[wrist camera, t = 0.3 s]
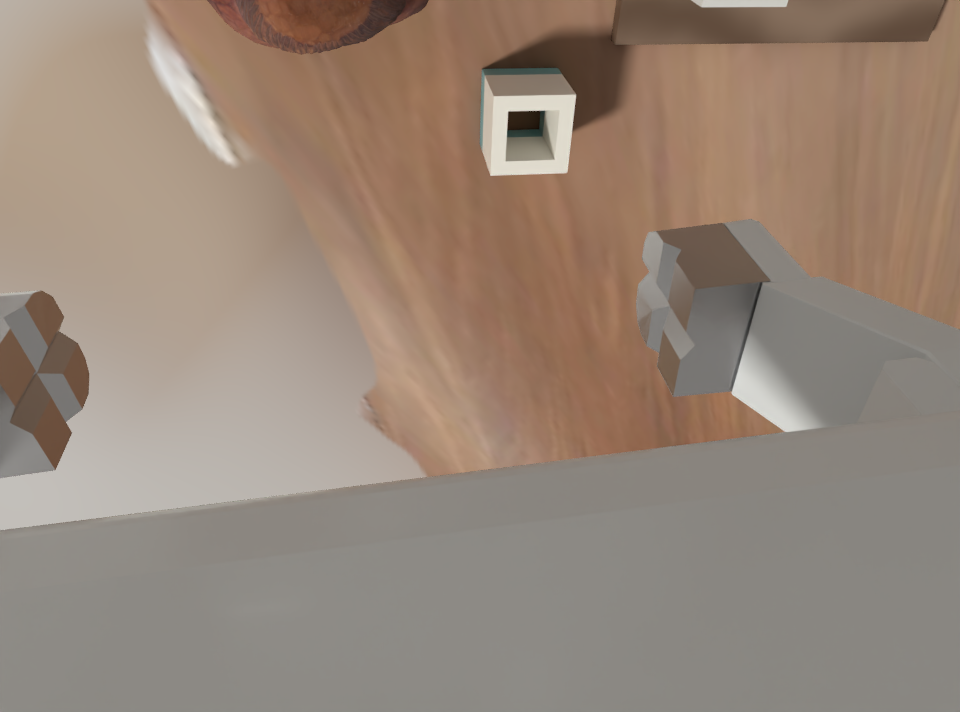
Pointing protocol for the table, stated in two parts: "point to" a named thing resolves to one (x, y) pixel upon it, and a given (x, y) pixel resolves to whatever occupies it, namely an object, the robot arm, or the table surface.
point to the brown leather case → (313, 21)
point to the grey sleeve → (741, 3)
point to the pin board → (774, 22)
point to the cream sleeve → (533, 146)
